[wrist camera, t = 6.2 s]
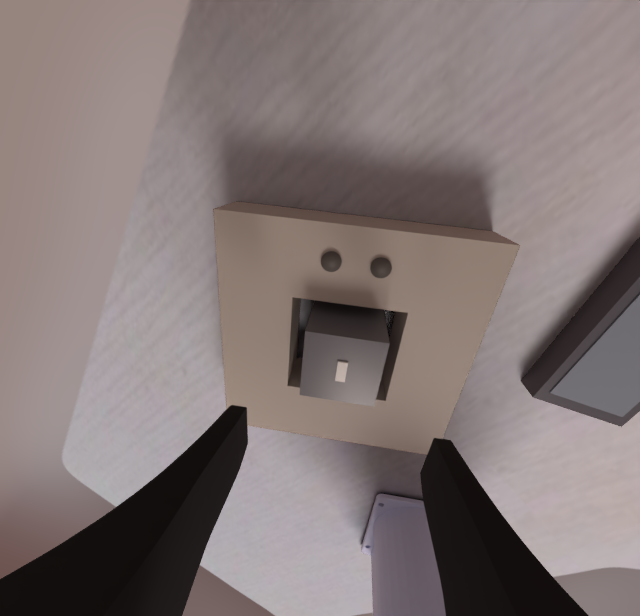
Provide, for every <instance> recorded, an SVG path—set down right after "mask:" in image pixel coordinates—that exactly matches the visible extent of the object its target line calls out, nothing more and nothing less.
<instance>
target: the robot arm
mask: <svg viewBox="0 0 640 616" xmlns="http://www.w3.org/2000/svg"><path fill="white" fill-rule="evenodd" d="M247 444H248V434H247V407H242V406H236V405H231V406H229V407H228V408H227V410H226V411H225V412H224V413H223V414H222V415H221V416H220V417H219V418H218V419H217V420H216V421H215V422H214V423H213V424H212V425H211V427H210V428H209V429H208V430H207V431H206V432H205V433H204V434H203V435H202V436H201V437H200V438H198V439H197V440H196V441H195V442H194V443H193V444H192V445H191V446H190V447H189V448H188V449H187V450H186V451H185V452H184V453H183V454H182V455H181V456H179V457H178V458H177V459H176V460H175V461H174V462H173V463H172V464H170V465H169V466H168V467H167V468H166V469H165V470H164V471H162V472H161V473H160V474H159V475H158V476H156V477H155V478H154V479H153V480H151V481H150V482H149V483H148V484H146V485H145V486H144V487H143V488H141V489H140V490H139V491H138V492H136V493H135V494H134V495H132V496H131V497H129V498H128V499H127V500H125V501H124V502H123V503H121V504H120V505H119V506H117V507H116V508H115V509H113V510H112V511H110V512H109V513H107V514H106V515H105V516H103V517H102V518H100V519H99V520H97V521H96V522H94V523H93V524H91V525H89V526H88V527H87V528H85V529H83V530H82V531H80V532H79V533H77V534H75V535H74V536H72V537H71V538H69V539H68V540H66V541H65V542H63V543H62V544H60V545H58V546H57V547H55V548H53V549H52V550H50V551H48V552H47V553H45V554H43V555H42V556H40V557H38V558H36V559H35V560H33V561H31V562H29V563H28V564H26V565H24V566H23V567H21V568H19V569H17V570H16V571H14V572H12V573H11V574H9V575H7V576H5V577H3V578H1V579H0V616H182V614H183V611H184V608H185V605H186V602H187V600H188V597H189V593H190V591H191V587H192V585H193V582H194V579H195V576H196V573H197V570H198V568H199V565H200V562H201V559H202V556H203V553H204V550H205V548H206V545H207V543H208V540H209V538H210V535H211V533H212V531H213V528H214V526H215V524H216V522H217V519H218V517H219V515H220V513H221V510H222V508H223V506H224V504H225V501H226V499H227V497H228V494H229V492H230V490H231V488H232V485H233V483H234V481H235V479H236V476H237V474H238V472H239V469H240V466H241V463H242V460H243V457H244V454H245V450H246V447H247ZM420 474H421V484H422V493H423V501H421V500H416V499H410V498H404V497H399V496H393V495H387V494H378V495H377V496H376V499H375V503H374V506H373V509H372V513H371V516H370V519H369V523H368V526H367V530H366V533H365V536H364V540H363V543H362V546H361V552H362V553H363V554H366V555H371V564H372V596H373V616H588V615H587V614H586V613H585V612H584V610H583V609H582V608H581V607H580V606H579V605H578V604H577V603H576V602H575V601H574V600H573V599H572V598H571V597H570V596H569V595H568V593H566V591H565V590H564V589H563V588H562V587H561V586H560V585H559V584H558V583H557V581H556V580H555V579H554V578H553V577H552V576H551V575H550V574H549V572H548V571H547V570H546V569H545V568H544V567H543V565H542V564H541V563H540V562H539V561H538V560H537V558H536V557H535V556H534V555H533V554H532V552H531V551H530V550H529V549H528V548H527V546H526V545H525V544H524V543H523V541H522V540H521V539H520V538H519V536H518V535H517V534H516V533H515V531H514V530H513V529H512V527H511V526H510V525H509V524H508V522H507V521H506V520H505V518H504V517H503V516H502V514H501V513H500V512H499V510H498V509H497V508H496V506H495V505H494V503H493V502H492V501H491V499H490V498H489V496H488V495H487V493H486V492H485V491H484V489H483V488H482V486H481V485H480V484H479V482H478V481H477V479H476V478H475V476H474V475H473V473H472V472H471V470H470V469H469V467H468V466H467V464H466V463H465V461H464V460H463V458H462V457H461V455H460V454H459V452H458V451H457V449H456V448H455V446H454V445H453V443H452V442H451V440H445V439H439V438H434V439H433V441H432V444H431V447H430V449H429V452H428V454H427V457H426V460H425V462H424V465H423V468H422V470H421V473H420Z"/></svg>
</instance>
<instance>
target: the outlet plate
mask: <svg viewBox="0 0 640 616" xmlns="http://www.w3.org/2000/svg"><path fill="white" fill-rule="evenodd" d="M213 212H214V227H215V242H216V258H217V273H218V288H219V304H220V319H221V334H222V349H223V365H224V380H225V395H226V410H227V408H228V407H229V406H231V405H236V406H242V407H247V425H248V426H254V427H260V428H266V429H272V430H278V431H284V432H290V433H297V434H303V435H309V436H315V437H321V438H327V439H333V440H339V441H345V442H351V443H357V444H363V445H369V446H376V447H382V448H388V449H394V450H400V451H406V452H412V453H418V454H424V455H427V454H428V452H429V449H430V447H431V444H432V441H433V439H434V438H439V439H442V438H443V436H444V433H445V431H446V428H447V426H448V423H449V421H450V418H451V416H452V413H453V411H454V409H455V406H456V404H457V401H458V399H459V396H460V394H461V391H462V389H463V386H464V384H465V381H466V379H467V376H468V374H469V371H470V369H471V366H472V364H473V361H474V359H475V356H476V354H477V352H478V349H479V347H480V344H481V342H482V339H483V337H484V334H485V332H486V329H487V327H488V324H489V322H490V319H491V317H492V314H493V312H494V309H495V307H496V304H497V302H498V299H499V297H500V295H501V292H502V290H503V287H504V285H505V282H506V280H507V277H508V275H509V272H510V270H511V267H512V265H513V262H514V260H515V257H516V255H517V252H518V250H519V247H520V245H519V244H517V243H515V242H513V241H511V240H509V239H507V238H505V237H503V236H501V235H499V234H497V233H495V232H493V231H487V230H478V229H469V228H461V227H452V226H444V225H435V224H427V223H418V222H409V221H401V220H392V219H384V218H375V217H366V216H358V215H349V214H341V213H332V212H324V211H315V210H306V209H298V208H289V207H281V206H272V205H264V204H255V203H246V202H238V201H236V202H233V203H230V204H227V205H224V206H221V207H218V208H215V209H213ZM301 298H302V299H309V300H316V301H324V302H331V303H338V304H346V305H353V306H361V307H368V308H375V309H383V310H390V311H396V313H395V317H394V321H393V326H392V330H391V334H390V338H389V342H390V344H389V349H388V353H387V357H386V361H385V365H384V369H383V373H382V377H381V381H380V385H379V389H378V393H377V397H376V402H375V406H374V407H372V406H366V405H360V404H353V403H347V402H341V401H334V400H328V399H322V398H315V397H309V396H303V395H300V383H301V372H302V361H303V358H299V357H297V344H298V330H299V316H300V302H301Z"/></svg>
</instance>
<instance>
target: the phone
mask: <svg viewBox="0 0 640 616" xmlns="http://www.w3.org/2000/svg"><path fill="white" fill-rule="evenodd" d="M521 382H522V383H523V385H524V386H525V387H526V389H527V390H528V391H529V393H530V394H531V395H532V397H534V398H537V399H540V400H543V401H546V402H549V403H552V404H555V405H558V406H561V407H564V408H567V409H570V410H573V411H576V412H579V413H582V414H585V415H588V416H591V417H594V418H597V419H600V420H603V421H606V422H609V423H612V424H615V425H618V426H621V427H622V426H623V425H624V424H625V423H626V422H627V421H629V420H630V419H631V418H632V417H633V416H634V415H636V414H637V413H638V412H639V411H640V238H639V239H638V240H637V241H636V242H635V243H634V245H633V246H632V247H631V248H630V249H629V251H628V252H627V253H626V254H625V255H624V257H623V258H622V259H621V260H620V261H619V263H618V264H617V265H616V266H615V268H614V269H613V270H612V271H611V272H610V274H609V275H608V276H607V277H606V278H605V280H604V281H603V282H602V283H601V284H600V286H599V287H598V288H597V289H596V290H595V292H594V293H593V294H592V295H591V296H590V298H589V299H588V300H587V301H586V302H585V304H584V305H583V306H582V307H581V309H580V310H579V311H578V312H577V313H576V315H575V316H574V317H573V318H572V319H571V321H570V322H569V323H568V324H567V325H566V327H565V328H564V329H563V330H562V331H561V333H560V334H559V335H558V336H557V337H556V339H555V340H554V341H553V342H552V343H551V345H550V346H549V347H548V348H547V350H546V351H545V352H544V353H543V354H542V356H541V357H540V358H539V359H538V360H537V362H536V363H535V364H534V365H533V366H532V368H531V369H530V370H529V371H528V372H527V374H526V375H525V376H524V377H523V378H522V380H521Z"/></svg>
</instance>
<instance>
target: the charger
mask: <svg viewBox="0 0 640 616" xmlns="http://www.w3.org/2000/svg"><path fill="white" fill-rule="evenodd" d="M389 344H390V342H389V337H388V331H387V325H386V319H385V314H384V310H383V309H375V308H368V307H361V306H353V305H346V304H338V303H331V302H324V301H316V300H315V301H314V304H313V308H312V311H311V314H310V317H309V320H308V324H307V327H306V330H305V339H304V350H303V361H302V372H301V383H300V395H303V396H309V397H315V398H322V399H328V400H334V401H341V402H347V403H353V404H360V405H366V406H372V407H374V406H375V402H376V397H377V393H378V389H379V385H380V381H381V377H382V373H383V369H384V365H385V361H386V357H387V353H388V349H389Z"/></svg>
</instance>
